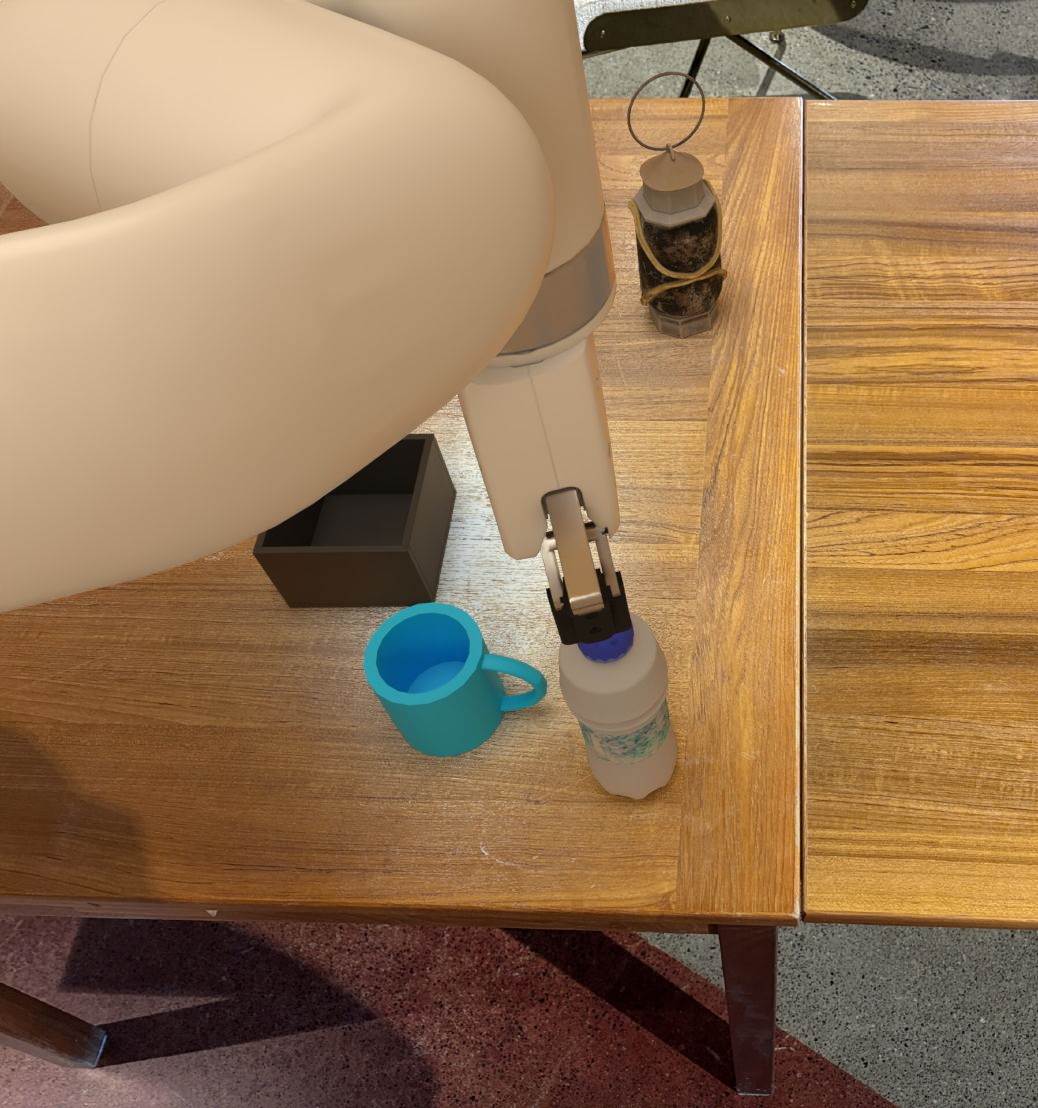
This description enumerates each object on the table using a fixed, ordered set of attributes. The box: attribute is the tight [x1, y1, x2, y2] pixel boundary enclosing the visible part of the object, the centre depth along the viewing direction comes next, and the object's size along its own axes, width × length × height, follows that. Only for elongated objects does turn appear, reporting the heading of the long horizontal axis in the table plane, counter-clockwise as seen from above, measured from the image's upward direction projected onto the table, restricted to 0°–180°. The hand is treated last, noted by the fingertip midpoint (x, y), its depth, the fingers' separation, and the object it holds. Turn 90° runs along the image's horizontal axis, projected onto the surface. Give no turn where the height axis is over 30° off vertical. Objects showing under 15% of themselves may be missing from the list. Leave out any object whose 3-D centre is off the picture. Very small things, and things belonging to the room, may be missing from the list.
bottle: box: [557, 611, 679, 801], centre depth 69 cm, size 7×7×20 cm
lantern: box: [626, 70, 728, 339], centre depth 94 cm, size 9×8×25 cm
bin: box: [252, 432, 457, 609], centre depth 86 cm, size 12×12×8 cm
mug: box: [362, 601, 548, 758], centre depth 77 cm, size 12×8×8 cm
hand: (577, 548), depth 51 cm, fingers open, 9 cm apart
